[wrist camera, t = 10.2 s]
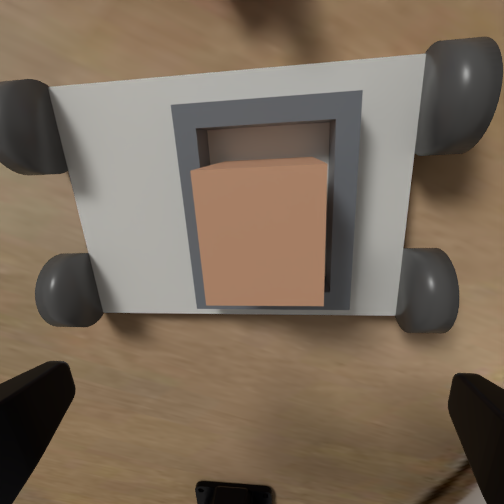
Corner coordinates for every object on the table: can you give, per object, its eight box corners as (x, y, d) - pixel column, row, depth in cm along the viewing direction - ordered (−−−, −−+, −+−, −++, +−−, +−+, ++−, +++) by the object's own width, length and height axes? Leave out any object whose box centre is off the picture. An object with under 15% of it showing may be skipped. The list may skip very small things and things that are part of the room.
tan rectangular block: (311, 251, 17) (323, 306, 11) (232, 252, 17) (206, 305, 12) (312, 156, 15) (327, 163, 9) (225, 161, 16) (190, 170, 10)
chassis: (414, 305, 19) (449, 351, 15) (94, 303, 21) (48, 342, 17) (449, 54, 14) (514, 17, 10) (40, 90, 17) (-40, 72, 13)
